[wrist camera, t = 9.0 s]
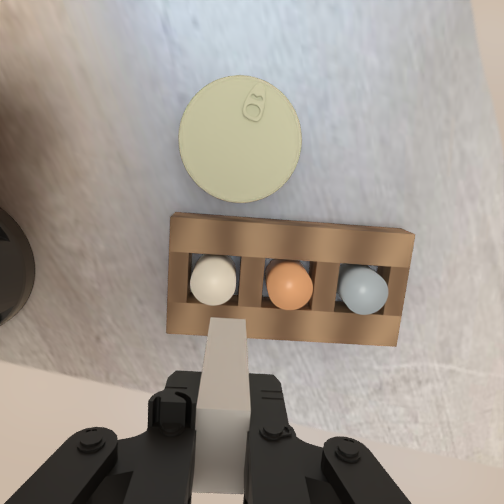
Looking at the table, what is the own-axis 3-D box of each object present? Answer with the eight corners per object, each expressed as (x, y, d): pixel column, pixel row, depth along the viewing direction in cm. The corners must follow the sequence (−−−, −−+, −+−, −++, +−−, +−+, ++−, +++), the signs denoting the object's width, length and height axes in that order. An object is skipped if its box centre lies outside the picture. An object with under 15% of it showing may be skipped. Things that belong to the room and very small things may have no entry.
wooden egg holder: (171, 320, 45) (166, 333, 42) (175, 212, 43) (170, 216, 39) (384, 332, 47) (396, 346, 43) (401, 228, 44) (415, 234, 41)
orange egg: (263, 293, 45) (265, 308, 40) (266, 254, 44) (269, 265, 39) (302, 296, 45) (310, 311, 41) (307, 257, 44) (315, 268, 40)
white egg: (193, 289, 44) (189, 304, 40) (195, 249, 43) (191, 260, 39) (234, 291, 45) (234, 306, 40) (237, 252, 44) (237, 263, 39)
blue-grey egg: (330, 297, 45) (341, 313, 41) (335, 259, 44) (347, 270, 40) (370, 300, 46) (384, 316, 41) (375, 261, 45) (391, 273, 40)
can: (298, 117, 41) (323, 101, 29) (265, 203, 43) (277, 221, 31) (210, 82, 40) (200, 52, 28) (181, 173, 42) (160, 179, 30)
